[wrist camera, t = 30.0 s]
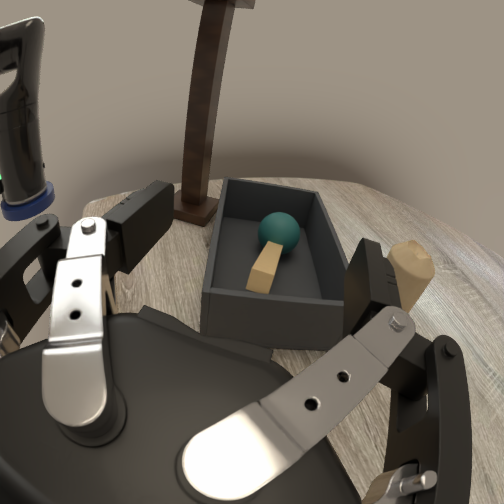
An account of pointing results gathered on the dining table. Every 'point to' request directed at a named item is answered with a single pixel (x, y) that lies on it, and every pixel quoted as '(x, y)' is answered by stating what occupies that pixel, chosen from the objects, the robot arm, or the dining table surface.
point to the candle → (411, 271)
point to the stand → (204, 109)
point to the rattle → (272, 249)
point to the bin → (286, 276)
